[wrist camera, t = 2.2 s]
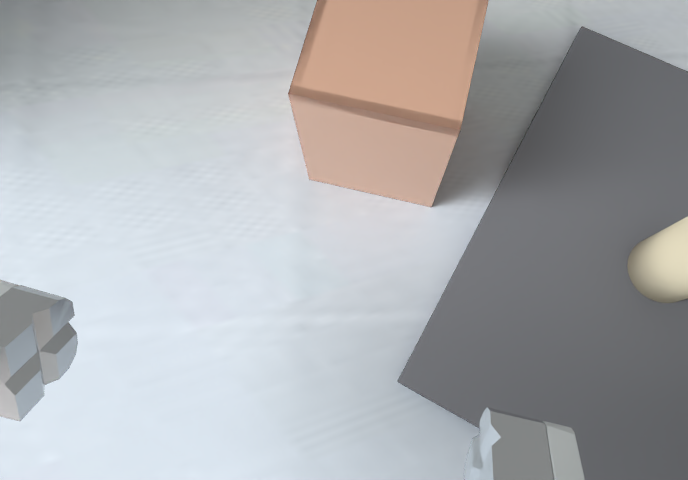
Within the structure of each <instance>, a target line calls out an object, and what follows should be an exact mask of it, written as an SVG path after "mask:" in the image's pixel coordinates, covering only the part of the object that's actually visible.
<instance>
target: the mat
mask: <svg viewBox="0 0 688 480" xmlns="http://www.w3.org/2000/svg"><path fill="white" fill-rule="evenodd" d="M398 382H399V383H401V384H402V385H404V386H406V387H408V388H409V389H411V390H413V391H415V392H416V393H418V394H420V395H422V396H423V397H425V398H427V399H429V400H431V401H432V402H434V403H436V404H438V405H439V406H441V407H443V408H445V409H446V410H448V411H450V412H452V413H453V414H455V415H457V416H459V417H461V418H462V419H464V420H466V421H468V422H469V423H471V424H473V425H475V426H476V427H478V428H480V419H481V417H482V414H483V412H484V411H485V409H486V408H487V407H489V408H493V409H497V410H501V411H505V412H509V413H513V414H517V415H521V416H525V417H529V418H533V419H537V420H540V421H546V422H550V423H554V424H558V425H562V426H566V427H570V428H572V430H573V431H574V432H575V436H576V441H577V445H578V450H579V455H580V459H581V464H582V468H583V473H584V478H585V480H688V72H687V71H685V70H683V69H680V68H678V67H676V66H673V65H671V64H669V63H666V62H664V61H662V60H659V59H657V58H655V57H652V56H650V55H648V54H645V53H643V52H641V51H638V50H636V49H634V48H631V47H629V46H627V45H624V44H622V43H620V42H617V41H615V40H613V39H610V38H608V37H606V36H603V35H601V34H599V33H596V32H594V31H592V30H589V29H587V28H585V27H581V29H580V30H579V32H578V34H577V36H576V38H575V40H574V42H573V44H572V46H571V47H570V49H569V51H568V53H567V55H566V57H565V59H564V61H563V63H562V65H561V67H560V69H559V71H558V73H557V75H556V76H555V78H554V80H553V82H552V84H551V86H550V88H549V90H548V92H547V94H546V96H545V98H544V100H543V102H542V103H541V105H540V107H539V109H538V111H537V113H536V115H535V117H534V119H533V121H532V123H531V125H530V127H529V129H528V131H527V132H526V134H525V136H524V138H523V140H522V142H521V144H520V146H519V148H518V150H517V152H516V154H515V156H514V158H513V159H512V161H511V163H510V165H509V167H508V169H507V171H506V173H505V175H504V177H503V179H502V181H501V183H500V185H499V186H498V188H497V190H496V192H495V194H494V196H493V198H492V200H491V202H490V204H489V206H488V208H487V210H486V212H485V214H484V215H483V217H482V219H481V221H480V223H479V225H478V227H477V229H476V231H475V233H474V235H473V237H472V239H471V241H470V242H469V244H468V246H467V248H466V250H465V252H464V254H463V256H462V258H461V260H460V262H459V264H458V266H457V268H456V270H455V271H454V273H453V275H452V277H451V279H450V281H449V283H448V285H447V287H446V289H445V291H444V293H443V295H442V297H441V298H440V300H439V302H438V304H437V306H436V308H435V310H434V312H433V314H432V316H431V318H430V320H429V322H428V324H427V326H426V327H425V329H424V331H423V333H422V335H421V337H420V339H419V341H418V343H417V345H416V347H415V349H414V351H413V353H412V354H411V356H410V358H409V360H408V362H407V364H406V366H405V368H404V370H403V372H402V374H401V376H400V378H399V380H398Z"/></svg>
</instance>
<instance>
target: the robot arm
mask: <svg viewBox="0 0 688 480" xmlns="http://www.w3.org/2000/svg"><path fill="white" fill-rule="evenodd" d="M73 317H74V309H73V303H72V301H70V300H68V299H67V298H64V297H61V296H57V295H54V294H50V293H47V292H43V291H40V290H36V289H33V288H29V287H26V286H22V285H16V284H13V283H10V282H6V281H3V280H0V416H1V417H5V418H9V419H13V420H17V421H21V420H22V419H23V418H24V417H25V416H26V415H27V414H28V412H29V411H30V410H31V409H32V408H33V407H34V406H35V405H36V404H37V403H38V402H39V401H40V400H41V398H42V397H43V396H44V385H46V384H48V383H51V382H53V381H56V380H58V379H60V378H61V377H62V376H63V374H64V373H65V372H66V371H67V370H68V369H69V367H70V365H71V363H72V361H73V359H74V357H75V355H76V350H77V344H78V341H77V333H76V331H75V330H74V329H73V328H72V326H71V325H70V324H69V321H70V320H71V319H72V318H73ZM464 480H585V478H584V473H583V468H582V464H581V459H580V455H579V450H578V445H577V441H576V436H575V432H574V431H573V430H572V428H570V427H566V426H562V425H558V424H554V423H550V422H546V421H540V420H537V419H533V418H529V417H525V416H521V415H517V414H513V413H509V412H505V411H501V410H497V409H493V408H489V407H487V408H486V409H485V411H484V412H483V414H482V417H481V419H480V435H478V436H476V437H474V438H473V439H472V442H471V445H470V447H469V450H468V454H467V458H466V463H465V469H464Z"/></svg>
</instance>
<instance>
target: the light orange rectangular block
mask: <svg viewBox="0 0 688 480" xmlns="http://www.w3.org/2000/svg"><path fill="white" fill-rule="evenodd" d="M487 5H488V0H317V2H316V6H315V9H314V12H313V15H312V19H311V22H310V25H309V28H308V31H307V35H306V38H305V41H304V44H303V48H302V51H301V54H300V57H299V61H298V64H297V67H296V70H295V73H294V77H293V80H292V83H291V86H290V90H289V93H288V95H289V99H290V103H291V107H292V111H293V115H294V119H295V123H296V127H297V131H298V135H299V139H300V143H301V147H302V151H303V156H304V160H305V164H306V168H307V172H308V176H309V179H310V180H314V181H318V182H323V183H327V184H332V185H336V186H341V187H345V188H349V189H354V190H358V191H363V192H367V193H371V194H376V195H380V196H385V197H389V198H394V199H398V200H402V201H407V202H411V203H416V204H420V205H424V206H429V207H432V204H433V202H434V199H435V196H436V194H437V191H438V188H439V186H440V183H441V180H442V178H443V175H444V172H445V170H446V167H447V164H448V162H449V159H450V156H451V154H452V151H453V148H454V146H455V143H456V140H457V138H458V135H459V132H460V129H461V125H462V120H463V116H464V111H465V106H466V102H467V97H468V93H469V88H470V83H471V79H472V74H473V70H474V65H475V60H476V56H477V51H478V46H479V42H480V37H481V33H482V28H483V23H484V19H485V14H486V10H487Z"/></svg>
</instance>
